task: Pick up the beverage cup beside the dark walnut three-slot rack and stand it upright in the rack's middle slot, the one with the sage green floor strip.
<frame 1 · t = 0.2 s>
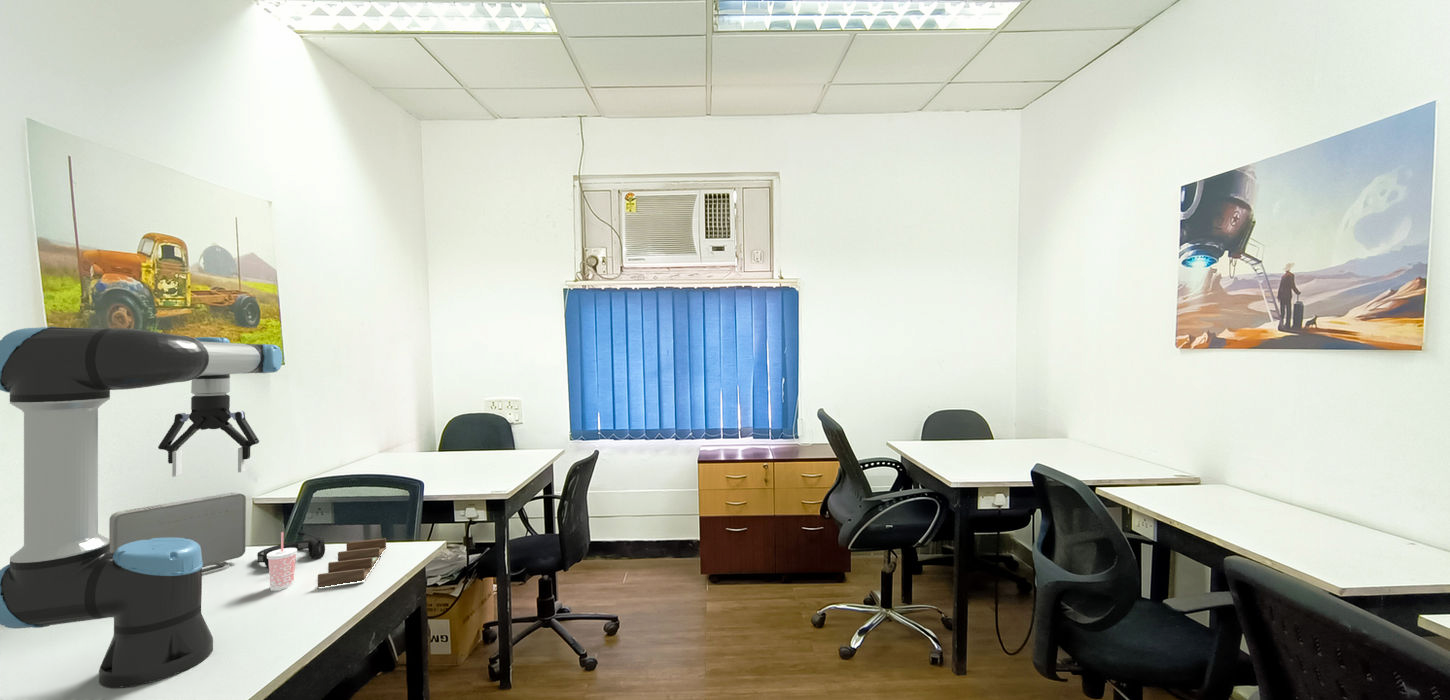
hand: (210, 473, 145), 28 cm above the table, tool pointing down, fingers open, 13 cm apart
headset: (291, 560, 157), on the table
beverage cup: (281, 587, 138), on the table
slot rack: (354, 567, 151), on the table
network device: (181, 577, 145), on the table
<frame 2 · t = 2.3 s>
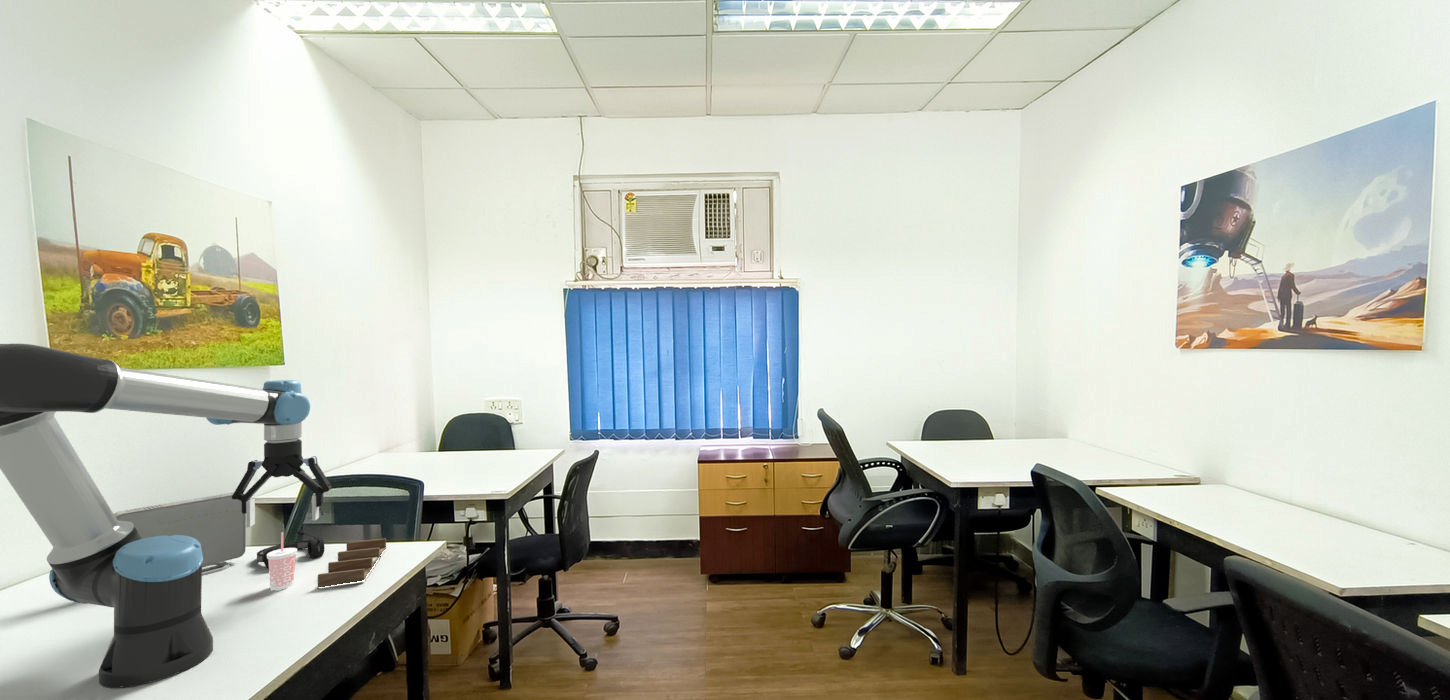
hand: (283, 522, 139), 16 cm above the table, tool pointing down, fingers open, 13 cm apart
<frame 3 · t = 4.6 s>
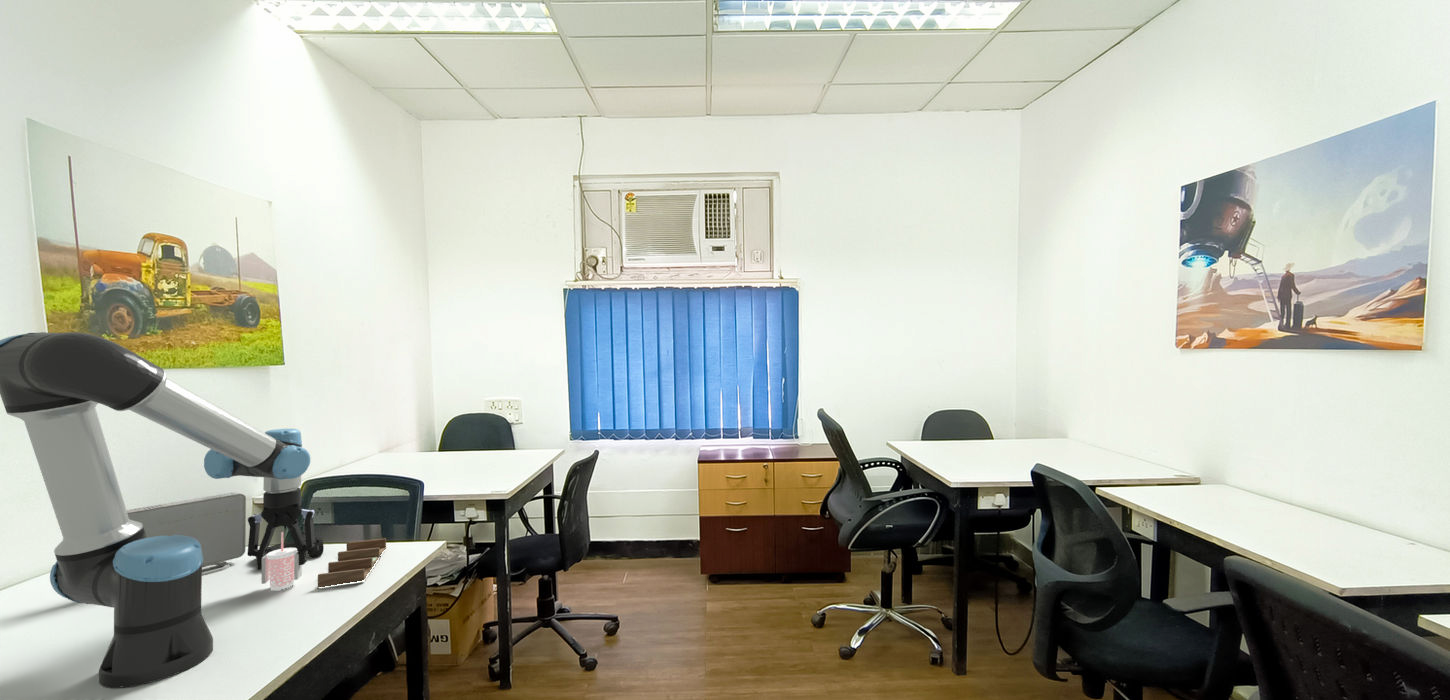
hand: (282, 579, 138), 2 cm above the table, tool pointing down, fingers closed on beverage cup, 6 cm apart
beverage cup: (281, 587, 138), on the table, touching gripper
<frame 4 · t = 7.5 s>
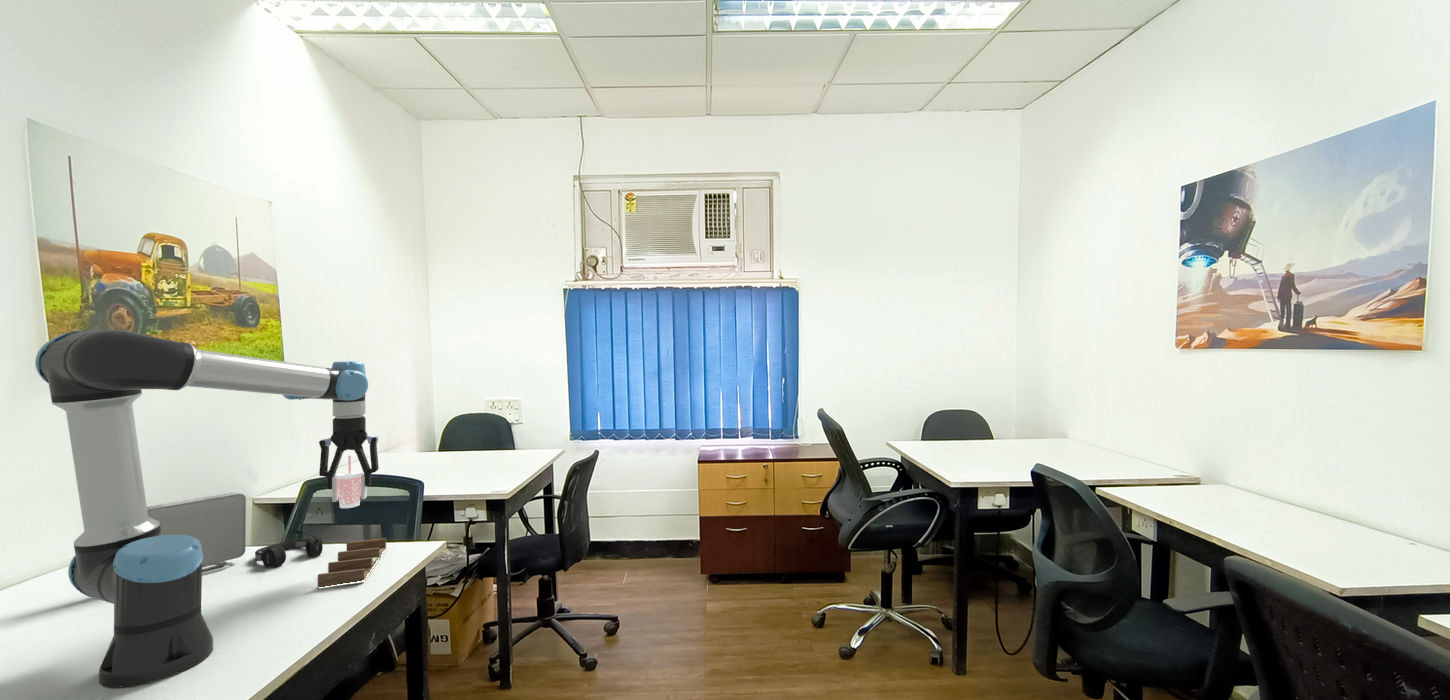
hand: (349, 499, 150), 19 cm above the table, tool pointing down, fingers closed on beverage cup, 6 cm apart
beverage cup: (349, 506, 150), point 17 cm above the table, touching gripper
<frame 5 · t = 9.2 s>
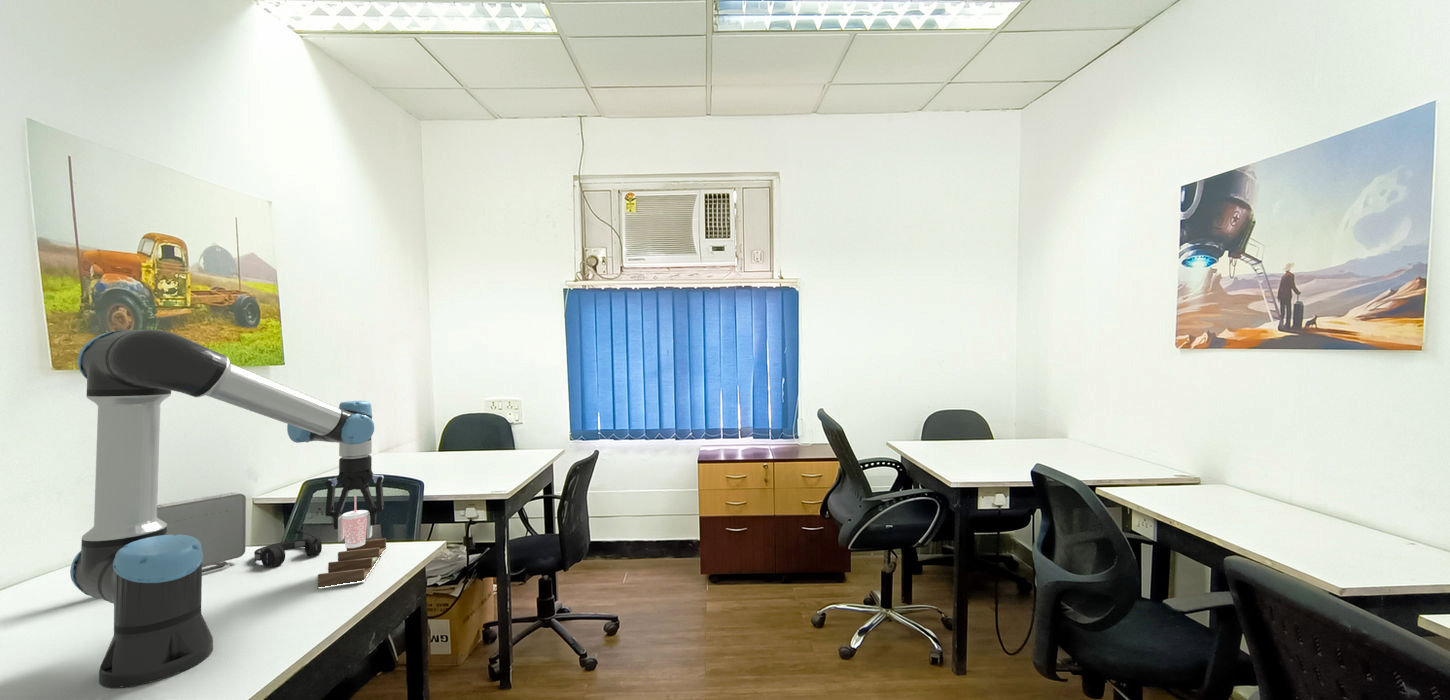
hand: (355, 538, 151), 8 cm above the table, tool pointing down, fingers closed on beverage cup, 6 cm apart
beverage cup: (355, 545, 151), point 6 cm above the table, touching gripper
when the fingers open (4 cm above the table, at t = 10.6 s): beverage cup drops 1 cm, resting on slot rack.
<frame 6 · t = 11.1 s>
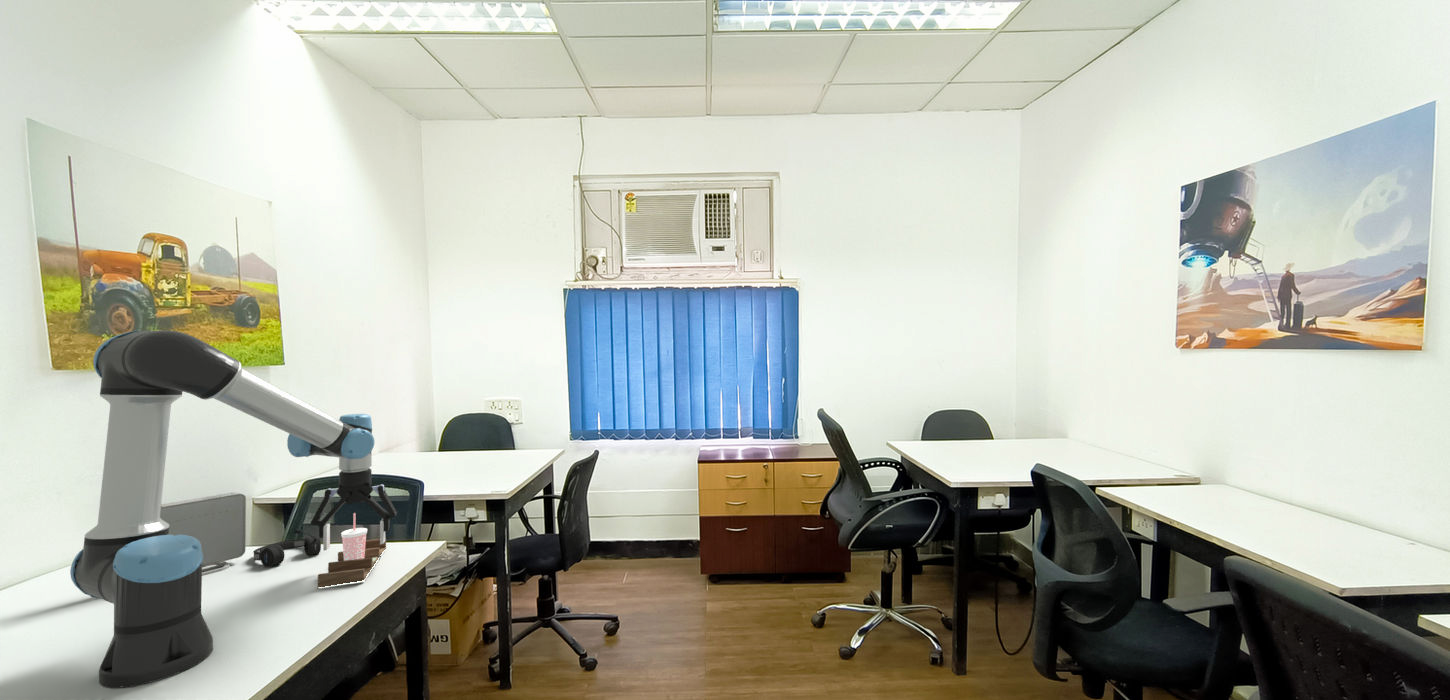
hand: (355, 545, 151), 6 cm above the table, tool pointing down, fingers open, 13 cm apart
beverage cup: (354, 564, 151), point 1 cm above the table, touching slot rack
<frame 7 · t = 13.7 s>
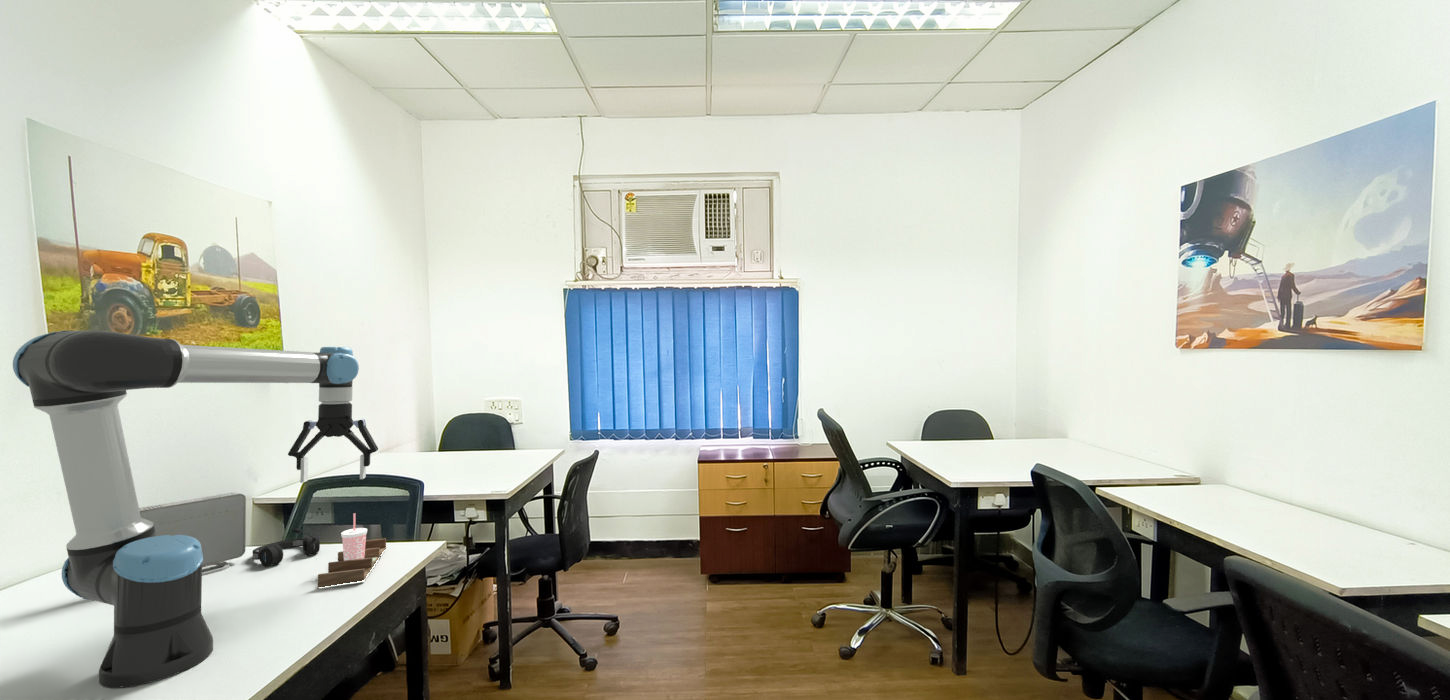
hand: (333, 480, 148), 25 cm above the table, tool pointing down, fingers open, 13 cm apart
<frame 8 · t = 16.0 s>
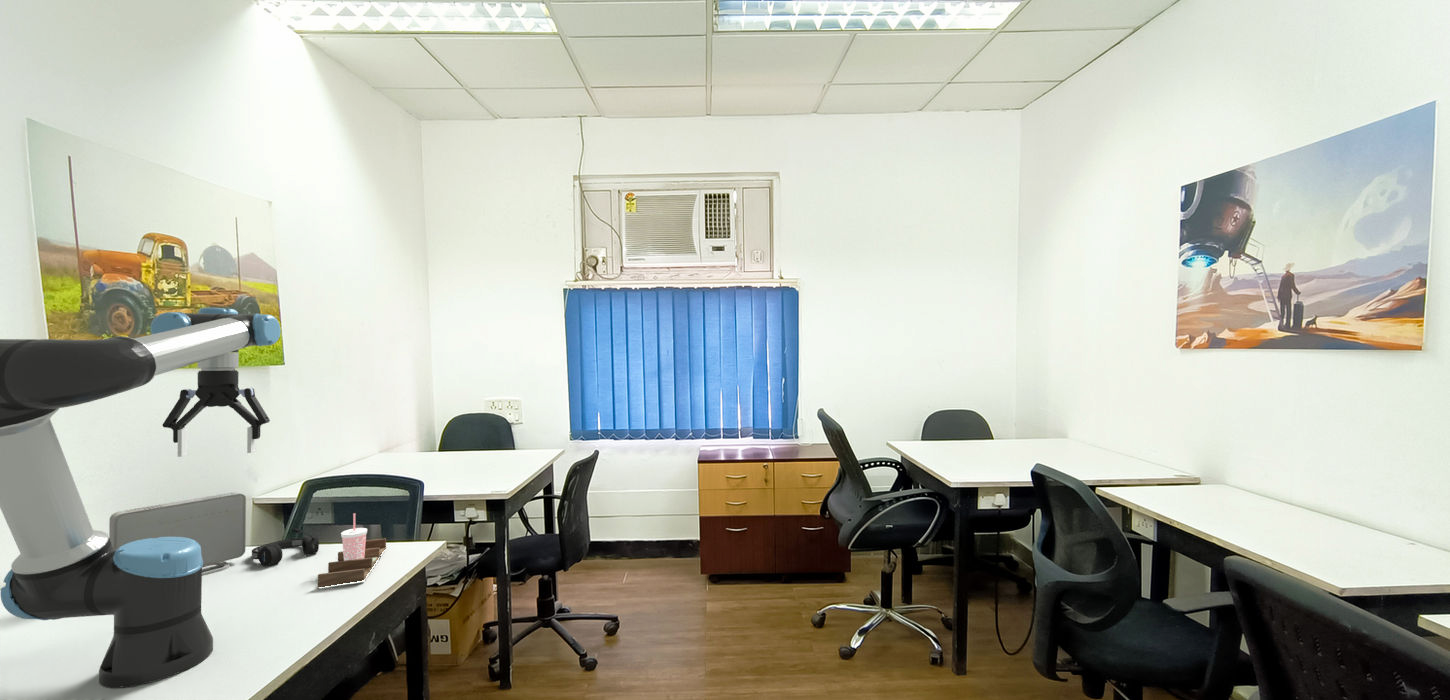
hand: (217, 454, 135), 35 cm above the table, tool pointing down, fingers open, 13 cm apart
at the end: beverage cup inside the target area on the slot rack (0.2 cm from its centre), point 1.0 cm above the slot rack's base; beverage cup tilted 0°; the gripper is holding nothing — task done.
